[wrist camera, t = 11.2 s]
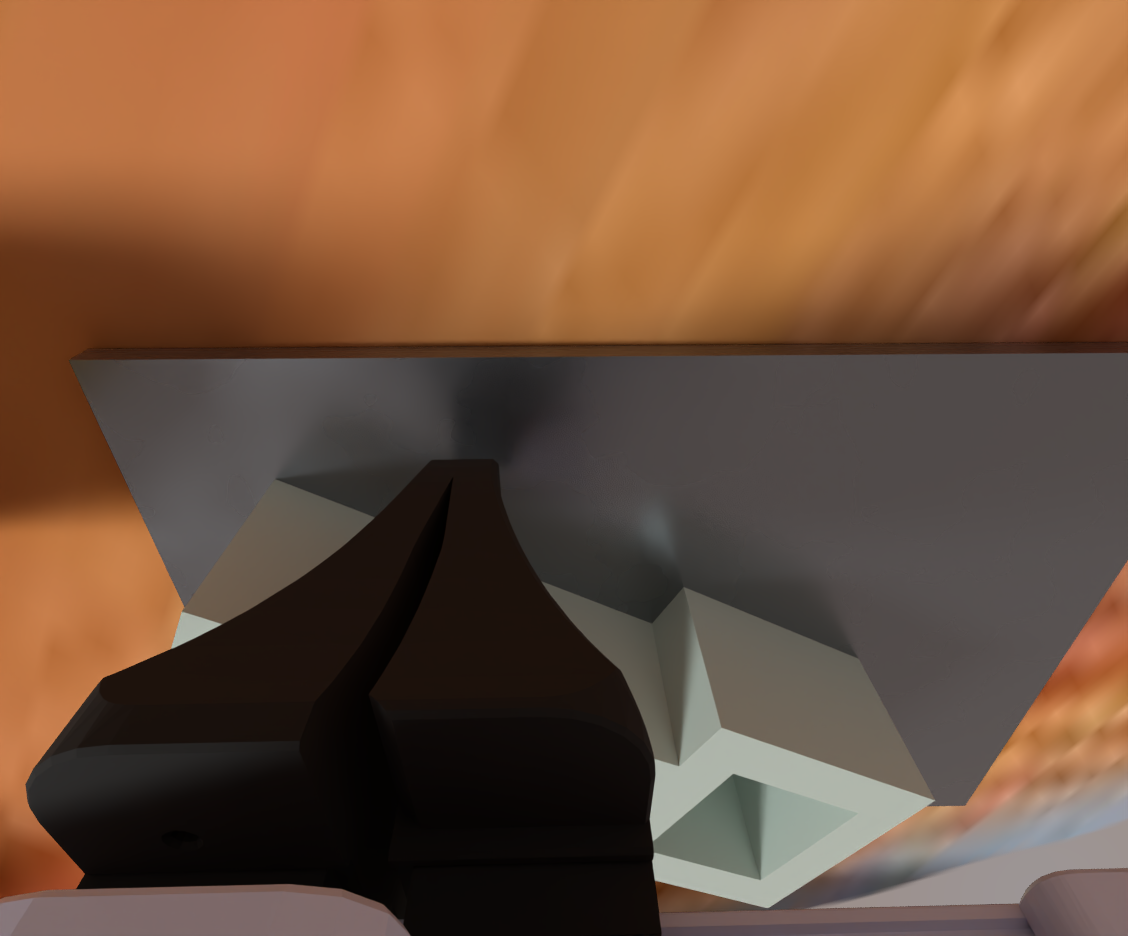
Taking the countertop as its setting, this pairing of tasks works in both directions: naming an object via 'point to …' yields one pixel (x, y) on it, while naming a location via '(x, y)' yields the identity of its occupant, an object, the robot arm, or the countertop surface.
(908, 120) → the countertop surface
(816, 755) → the link
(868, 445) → the base plate
